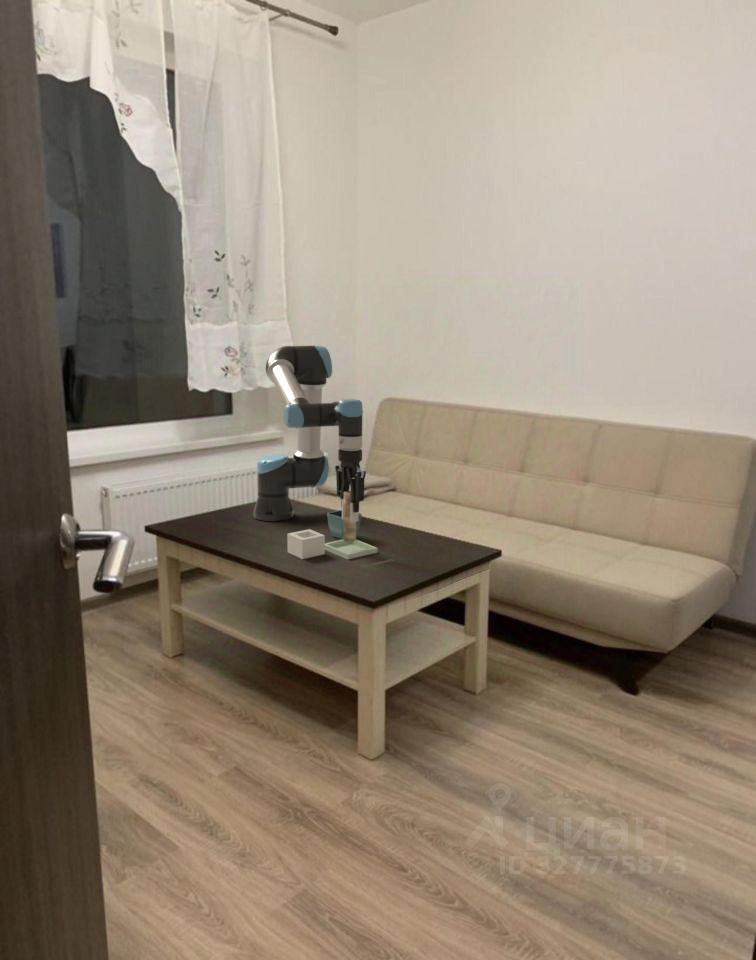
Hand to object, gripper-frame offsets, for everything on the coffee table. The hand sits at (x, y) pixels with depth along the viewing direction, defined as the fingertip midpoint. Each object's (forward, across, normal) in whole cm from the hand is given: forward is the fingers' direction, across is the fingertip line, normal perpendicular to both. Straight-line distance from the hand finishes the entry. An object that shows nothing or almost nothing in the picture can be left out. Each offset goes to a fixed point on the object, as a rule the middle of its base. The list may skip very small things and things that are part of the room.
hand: (350, 519), depth 243 cm
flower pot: (+11, -14, +8) cm, 20 cm away
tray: (+11, 0, 0) cm, 11 cm away
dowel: (+7, 0, 0) cm, 7 cm away
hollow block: (+11, -6, -13) cm, 18 cm away
